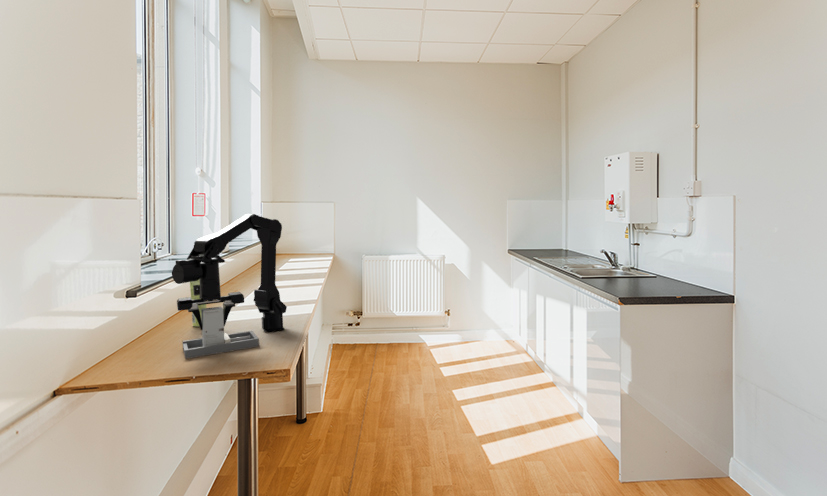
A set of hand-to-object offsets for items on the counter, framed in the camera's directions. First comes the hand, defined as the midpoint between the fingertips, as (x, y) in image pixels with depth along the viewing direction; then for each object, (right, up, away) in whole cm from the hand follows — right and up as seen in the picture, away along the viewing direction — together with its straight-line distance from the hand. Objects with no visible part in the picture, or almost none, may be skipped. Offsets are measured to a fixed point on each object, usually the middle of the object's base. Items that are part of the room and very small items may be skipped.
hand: (212, 327), depth 140 cm
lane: (+2, -7, +2) cm, 7 cm away
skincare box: (0, -6, +1) cm, 6 cm away
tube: (-18, -5, +29) cm, 35 cm away
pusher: (+6, -6, +4) cm, 9 cm away
